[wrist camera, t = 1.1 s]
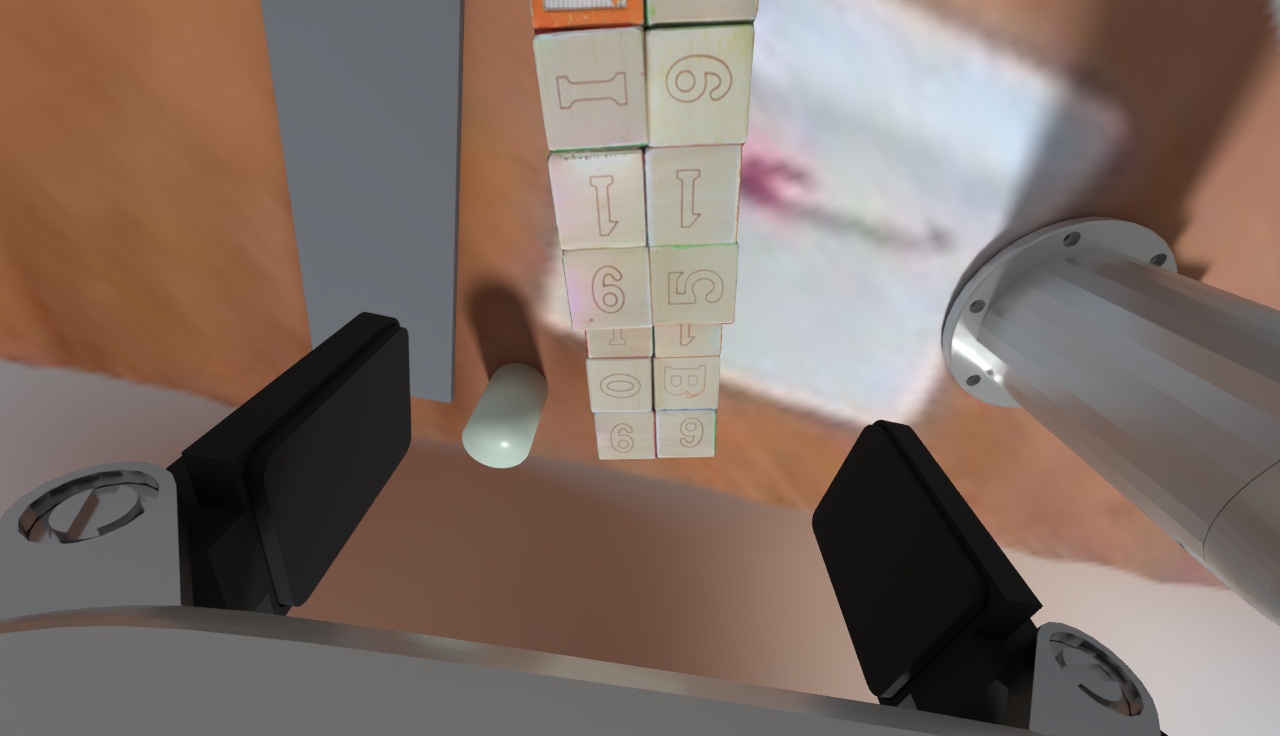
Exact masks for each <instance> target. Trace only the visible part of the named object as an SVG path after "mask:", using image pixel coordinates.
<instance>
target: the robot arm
mask: <svg viewBox="0 0 1280 736" xmlns="http://www.w3.org/2000/svg"><path fill="white" fill-rule="evenodd" d="M942 353H943V357H944V361H945V365H946V367H947V369H948V371H949V373H950V375H951V376H952V378H953V379H954V380H955V381H956V382H957V383H958V384H959V385H960V386H961V387H962V388H963V389H964V390H965V391H966V392H967V393H969V394H970V395H971V396H973V397H974V398H976V399H978V400H980V401H983V402H985V403H987V404H991V405H995V406H1000V407H1008V408H1024V409H1025V410H1026V411H1027V412H1029V413H1030V414H1031V415H1032V416H1033V417H1034V418H1035V419H1037V420H1038V421H1039V422H1040V423H1041V424H1042V425H1043V426H1045V427H1046V428H1047V429H1048V430H1049V431H1050V432H1051V433H1053V434H1054V435H1055V436H1056V437H1057V438H1058V439H1059V440H1061V441H1062V442H1063V443H1064V444H1065V445H1066V446H1067V447H1069V448H1070V449H1071V450H1072V451H1073V452H1074V453H1075V454H1077V455H1078V456H1079V457H1080V458H1081V459H1082V460H1083V461H1085V462H1086V463H1087V464H1088V465H1089V466H1090V467H1091V468H1093V469H1094V470H1095V471H1096V472H1097V473H1098V474H1099V475H1101V476H1102V477H1103V478H1104V479H1105V480H1106V481H1107V482H1109V483H1110V484H1111V485H1112V486H1113V487H1114V488H1115V489H1117V490H1118V491H1119V492H1120V493H1121V494H1122V495H1123V496H1125V497H1126V498H1127V499H1128V500H1129V501H1130V502H1131V503H1133V504H1134V505H1135V506H1136V507H1137V508H1138V509H1139V510H1141V511H1142V512H1143V513H1144V514H1145V515H1146V516H1147V517H1149V518H1150V519H1151V520H1152V521H1153V522H1154V523H1155V524H1157V525H1158V526H1159V527H1160V528H1161V529H1162V530H1163V531H1165V532H1166V533H1167V534H1168V535H1169V536H1170V537H1171V538H1173V539H1174V540H1175V541H1176V542H1177V543H1178V544H1179V545H1181V546H1182V547H1183V548H1184V549H1185V550H1186V551H1188V552H1189V553H1190V554H1191V555H1192V556H1193V557H1194V558H1196V559H1197V560H1198V561H1199V562H1200V563H1201V564H1202V565H1204V566H1205V567H1206V568H1207V569H1208V570H1209V571H1210V572H1212V573H1213V574H1214V575H1216V576H1217V577H1218V578H1219V579H1220V580H1221V581H1222V582H1224V583H1225V584H1226V585H1227V586H1228V587H1229V588H1231V589H1232V590H1233V591H1234V592H1235V593H1236V594H1237V595H1239V596H1240V597H1241V598H1242V599H1243V600H1245V601H1246V602H1247V603H1248V604H1250V605H1251V606H1252V607H1254V608H1255V609H1256V610H1257V611H1259V612H1260V613H1261V614H1263V615H1264V616H1265V617H1267V618H1269V619H1270V620H1271V621H1273V622H1275V623H1276V624H1278V625H1279V626H1280V311H1279V310H1276V309H1273V308H1271V307H1268V306H1265V305H1262V304H1260V303H1257V302H1254V301H1251V300H1249V299H1246V298H1243V297H1241V296H1238V295H1235V294H1232V293H1230V292H1227V291H1224V290H1221V289H1219V288H1216V287H1213V286H1210V285H1208V284H1205V283H1202V282H1200V281H1197V280H1194V279H1191V278H1189V277H1186V276H1183V275H1180V274H1178V269H1177V266H1176V262H1175V258H1174V254H1173V252H1172V251H1171V249H1170V248H1169V246H1168V245H1167V243H1166V241H1165V240H1164V239H1162V238H1161V237H1160V236H1159V235H1157V234H1156V233H1155V232H1154V231H1152V230H1151V229H1148V228H1146V227H1143V226H1141V225H1138V224H1136V223H1133V222H1129V221H1125V220H1121V219H1117V218H1113V217H1091V216H1090V217H1084V218H1077V219H1070V220H1066V221H1062V222H1059V223H1056V224H1053V225H1050V226H1046V227H1043V228H1041V229H1039V230H1037V231H1035V232H1033V233H1031V234H1029V235H1027V236H1024V237H1022V238H1021V239H1019V240H1017V241H1016V242H1014V243H1013V244H1011V245H1010V246H1008V247H1007V248H1005V249H1004V250H1002V251H1000V252H999V253H998V254H997V255H996V256H994V257H993V258H992V259H991V260H990V261H989V262H987V263H986V264H985V265H984V266H983V267H982V268H981V269H980V270H979V271H978V272H977V273H976V274H975V275H974V276H973V278H972V279H971V280H970V281H969V282H968V283H967V284H966V286H965V287H964V289H963V290H962V292H961V293H960V295H959V296H958V298H957V299H956V301H955V302H954V304H953V307H952V309H951V311H950V313H949V315H948V318H947V320H946V324H945V328H944V332H943V337H942ZM410 441H411V405H410V368H409V335H408V331H407V329H406V328H404V327H400V323H399V321H398V320H397V319H396V318H393V317H388V316H384V315H379V314H374V313H369V312H362V313H360V314H358V315H357V316H356V317H355V318H353V319H352V320H351V321H349V322H348V323H347V324H346V325H344V326H343V327H342V328H341V329H339V330H338V331H337V332H335V333H334V334H333V335H332V336H330V337H329V338H328V339H326V340H325V341H324V342H323V343H321V344H320V345H319V346H317V347H316V348H315V349H314V350H312V351H311V352H310V353H308V354H307V355H306V356H305V357H303V358H302V359H301V360H299V361H298V362H297V363H296V364H294V365H293V366H292V367H290V368H289V369H288V370H287V371H285V372H284V373H283V374H281V375H280V376H279V377H278V378H276V379H275V380H274V381H273V382H271V383H270V384H269V385H267V386H266V387H265V388H264V389H262V390H261V391H260V392H258V393H257V394H256V395H255V396H253V397H252V398H251V399H249V400H248V401H247V402H246V403H244V404H243V405H242V406H240V407H239V408H238V409H237V410H235V411H234V412H233V413H231V414H230V415H229V416H228V417H226V418H225V419H224V420H223V421H221V422H220V423H219V424H218V425H216V426H215V427H213V428H212V429H211V430H210V431H208V432H207V433H206V434H205V435H203V436H202V437H201V438H199V439H198V440H197V441H196V442H194V443H193V444H192V445H191V446H189V447H188V448H187V449H185V450H184V451H183V452H182V456H181V457H180V458H179V459H178V460H176V461H175V462H174V463H172V464H171V465H170V466H169V467H167V468H166V469H164V468H163V467H161V466H158V465H154V464H150V463H146V462H116V463H109V464H102V465H96V466H92V467H89V468H85V469H81V470H78V471H74V472H70V473H68V474H66V475H63V476H61V477H58V478H56V479H53V480H51V481H49V482H46V483H44V484H43V485H41V486H39V487H37V488H36V489H34V490H32V491H31V492H29V493H27V494H25V495H24V496H22V497H21V498H20V499H19V500H18V501H16V502H15V503H14V504H13V505H12V506H11V507H10V508H9V509H7V510H6V511H5V512H4V514H3V516H2V517H1V519H0V736H1168V735H1166V734H1165V733H1164V732H1162V731H1161V730H1160V725H1159V719H1158V713H1157V710H1156V707H1155V704H1154V702H1153V699H1152V697H1151V696H1150V694H1149V693H1148V691H1147V689H1146V688H1145V686H1144V685H1143V683H1142V682H1141V681H1140V680H1139V678H1138V677H1137V676H1136V675H1135V674H1134V673H1133V672H1132V670H1131V669H1130V668H1129V667H1128V666H1127V665H1126V664H1125V663H1124V662H1123V661H1122V660H1121V659H1120V658H1118V657H1117V656H1116V655H1115V654H1114V653H1113V652H1112V651H1111V650H1109V649H1108V648H1107V647H1105V646H1104V645H1102V644H1101V643H1100V642H1098V641H1097V640H1096V639H1094V638H1093V637H1091V636H1089V635H1087V634H1085V633H1084V632H1082V631H1080V630H1078V629H1076V628H1074V627H1071V626H1068V625H1065V624H1062V623H1055V622H1048V623H1046V624H1043V625H1041V626H1040V627H1039V628H1038V629H1037V627H1036V626H1035V625H1034V623H1033V622H1032V620H1031V619H1030V618H1031V617H1032V616H1033V615H1034V614H1035V613H1036V612H1037V611H1038V610H1039V609H1041V607H1043V606H1042V604H1041V603H1040V601H1039V600H1038V599H1037V597H1036V596H1035V595H1034V594H1033V592H1032V591H1031V589H1030V588H1029V587H1028V585H1027V584H1026V582H1025V581H1024V580H1023V578H1022V577H1021V576H1020V574H1019V573H1018V572H1017V570H1016V569H1015V568H1014V566H1013V565H1012V564H1011V562H1010V561H1009V559H1008V558H1007V557H1006V555H1005V554H1004V553H1003V551H1002V550H1001V549H1000V547H999V546H998V545H997V543H996V542H995V540H994V539H993V538H992V536H991V535H990V534H989V532H988V531H987V530H986V528H985V527H984V526H983V524H982V523H981V521H980V520H979V519H978V517H977V516H976V515H975V513H974V512H973V511H972V509H971V508H970V507H969V505H968V504H967V502H966V501H965V500H964V498H963V497H962V496H961V494H960V493H959V492H958V490H957V489H956V488H955V486H954V485H953V484H952V482H951V481H950V479H949V478H948V477H947V475H946V474H945V473H944V471H943V470H942V469H941V467H940V466H939V465H938V463H937V462H936V460H935V459H934V458H933V456H932V455H931V454H930V452H929V451H928V450H927V448H926V447H925V446H924V444H923V443H922V441H921V440H920V439H919V437H918V436H917V435H916V433H915V432H914V431H913V429H912V428H911V427H910V426H907V425H904V424H899V423H894V422H889V421H885V420H878V421H876V422H875V423H873V425H868V426H866V427H865V428H864V429H863V431H862V432H861V434H860V436H859V438H858V439H857V441H856V443H855V444H854V446H853V448H852V449H851V451H850V453H849V454H848V456H847V458H846V459H845V461H844V463H843V464H842V466H841V468H840V470H839V471H838V473H837V475H836V476H835V478H834V480H833V481H832V483H831V485H830V486H829V488H828V490H827V491H826V493H825V495H824V496H823V498H822V500H821V501H820V503H819V505H818V507H817V508H816V510H815V512H814V514H813V518H812V527H813V531H814V534H815V537H816V540H817V542H818V545H819V548H820V551H821V554H822V557H823V560H824V562H825V565H826V568H827V571H828V574H829V577H830V580H831V583H832V585H833V588H834V591H835V594H836V597H837V600H838V602H839V605H840V608H841V611H842V614H843V617H844V620H845V623H846V625H847V628H848V631H849V634H850V637H851V639H852V643H853V645H854V648H855V651H856V654H857V657H858V660H859V663H860V665H861V668H862V671H863V674H864V677H865V680H866V683H867V685H868V687H869V689H870V691H871V692H872V693H873V694H874V695H875V696H877V697H878V700H879V703H880V704H874V703H867V702H861V701H855V700H848V699H842V698H836V697H830V696H823V695H817V694H810V693H805V692H798V691H792V690H786V689H779V688H773V687H766V686H760V685H754V684H747V683H741V682H734V681H728V680H721V679H714V678H708V677H702V676H694V675H689V674H682V673H676V672H669V671H663V670H656V669H650V668H643V667H636V666H630V665H623V664H617V663H610V662H603V661H597V660H590V659H584V658H577V657H571V656H564V655H557V654H551V653H544V652H537V651H530V650H523V649H517V648H510V647H503V646H496V645H490V644H483V643H476V642H469V641H463V640H456V639H449V638H442V637H435V636H428V635H422V634H415V633H408V632H401V631H395V630H388V629H381V628H374V627H366V626H359V625H350V624H343V623H336V622H328V621H320V620H312V619H304V618H297V617H289V616H286V614H287V613H288V611H289V610H290V608H291V607H292V606H296V607H299V606H301V605H302V604H304V603H305V602H306V601H307V599H308V598H309V597H310V595H311V594H312V592H313V591H314V589H315V588H316V586H317V585H318V583H319V582H320V580H321V579H322V578H323V576H324V575H325V573H326V572H327V570H328V569H329V567H330V566H331V564H332V563H333V561H334V560H335V558H336V557H337V555H338V554H339V552H340V551H341V549H342V548H343V546H344V545H345V543H346V542H347V540H348V539H349V537H350V536H351V534H352V533H353V532H354V530H355V529H356V527H357V526H358V524H359V523H360V521H361V520H362V518H363V517H364V515H365V514H366V512H367V511H368V509H369V508H370V506H371V505H372V503H373V502H374V500H375V499H376V497H377V496H378V494H379V493H380V492H381V490H382V488H383V487H384V486H385V484H386V482H387V481H388V480H389V478H390V477H391V475H392V474H393V472H394V471H395V469H396V468H397V466H398V465H399V463H400V462H401V460H402V459H403V457H404V456H405V454H406V453H407V450H408V448H409V445H410Z"/></svg>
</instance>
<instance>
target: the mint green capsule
mask: <svg viewBox="0 0 1280 736" xmlns="http://www.w3.org/2000/svg"><path fill="white" fill-rule="evenodd" d="M547 394H548V386H547V382H546V380H545V378H544V377H543V375H542V374H541V373H540V372H539V371H537V370H536V369H535V368H533V367H531V366H529V365H526V364H522V363H509V364H505V365H503V366H501V367H499V368H498V369H497V370H496V371H495V372H494V374H493V376H492V377H491V379H490V381H489V383H488V385H487V387H486V389H485V391H484V393H483V395H482V396H481V398H480V400H479V402H478V404H477V406H476V408H475V410H474V412H473V414H472V416H471V417H470V419H469V421H468V423H467V425H466V427H465V429H464V431H463V435H462V440H463V444H464V447H465V449H466V450H467V452H468V453H469V454H470V455H471V456H472V457H473V458H474V459H475V460H477V461H479V462H480V463H482V464H485V465H487V466H491V467H495V468H508V467H513V466H515V465H518V464H519V463H521V462H522V461H523V460H524V459H525V458H526V457H527V456H528V454H529V451H530V448H531V445H532V442H533V438H534V435H535V432H536V429H537V426H538V423H539V420H540V416H541V413H542V410H543V407H544V404H545V401H546V398H547Z"/></svg>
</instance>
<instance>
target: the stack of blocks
mask: <svg viewBox="0 0 1280 736" xmlns="http://www.w3.org/2000/svg"><path fill="white" fill-rule="evenodd" d="M529 1H530V9H531V17H532V23H533V26H534V30H535V34H534V37H533V49H534V56H535V63H536V70H537V77H538V83H539V90H540V97H541V105H542V112H543V118H544V125H545V131H546V138H547V145H548V148H549V150H550V155H549V156H548V163H547V164H548V170H549V179H550V185H551V190H552V197H553V205H554V212H555V218H556V225H557V232H558V239H559V244H560V247H561V249H562V251H563V259H562V260H563V267H564V274H565V281H566V287H567V295H568V302H569V309H570V315H571V322H572V328H573V330H574V331H578V330H585V336H586V347H587V356H586V367H587V378H588V388H589V396H590V404H591V410H592V412H594V418H595V429H596V439H597V449H598V458H599V459H654V458H655V457H713V456H714V455H715V440H716V408H718V395H719V373H720V353H721V341H722V324H731V323H733V322H734V319H735V300H736V284H737V265H738V250H739V246H738V243H737V240H736V239H737V227H738V214H739V195H740V180H741V164H742V146H743V145H744V144H745V142H746V139H747V131H748V118H749V103H750V86H751V73H752V60H753V47H754V35H755V34H754V24H753V22H754V20H755V18H756V14H757V11H758V0H529Z"/></svg>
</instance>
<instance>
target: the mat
mask: <svg viewBox="0 0 1280 736" xmlns="http://www.w3.org/2000/svg"><path fill="white" fill-rule="evenodd" d="M261 6H262V13H263V20H264V27H265V33H266V40H267V47H268V53H269V60H270V67H271V73H272V80H273V87H274V94H275V100H276V107H277V114H278V120H279V127H280V134H281V140H282V147H283V154H284V161H285V167H286V174H287V181H288V187H289V194H290V201H291V207H292V214H293V221H294V228H295V234H296V241H297V248H298V254H299V261H300V268H301V274H302V281H303V288H304V295H305V301H306V308H307V315H308V321H309V328H310V335H311V341H312V348H313V350H314V349H315V348H316V347H317V346H319V345H320V344H321V343H323V342H324V341H325V340H326V339H328V338H329V337H330V336H332V335H333V334H334V333H335V332H337V331H338V330H339V329H341V328H342V327H343V326H344V325H346V324H347V323H348V322H349V321H351V320H352V319H353V318H355V317H356V316H357V315H358V314H360V313H362V312H369V313H374V314H379V315H384V316H388V317H393V318H396V319H397V320H398V321H399V323H400V327H404V328H406V329H407V331H408V335H409V368H410V396H414V397H419V398H425V399H430V400H435V401H441V402H446V403H451V402H452V400H453V399H454V368H455V331H456V294H457V257H458V220H459V183H460V146H461V109H462V72H463V35H464V0H261Z"/></svg>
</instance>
